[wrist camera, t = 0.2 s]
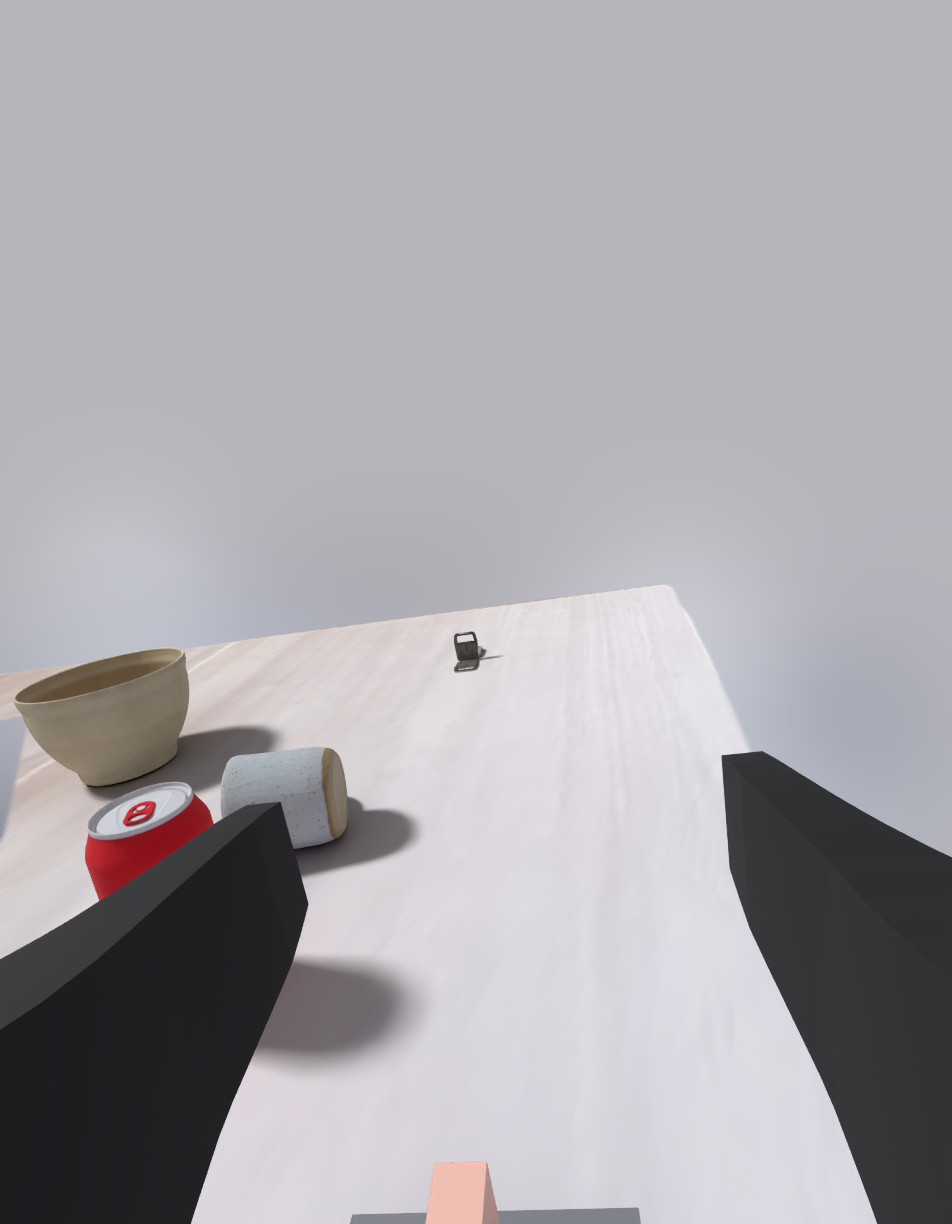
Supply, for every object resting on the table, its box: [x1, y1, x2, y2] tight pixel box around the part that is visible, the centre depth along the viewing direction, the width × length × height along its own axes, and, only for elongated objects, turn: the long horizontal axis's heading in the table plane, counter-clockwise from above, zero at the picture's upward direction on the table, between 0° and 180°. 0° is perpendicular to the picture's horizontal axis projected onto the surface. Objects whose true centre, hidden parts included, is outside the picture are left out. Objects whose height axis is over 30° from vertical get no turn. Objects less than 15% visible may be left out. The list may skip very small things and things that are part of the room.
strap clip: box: [454, 632, 483, 673], centre depth 89 cm, size 8×3×4 cm, turn 173°
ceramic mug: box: [221, 747, 348, 849], centre depth 54 cm, size 11×8×8 cm
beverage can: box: [85, 782, 214, 901], centre depth 37 cm, size 6×6×12 cm
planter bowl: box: [13, 647, 189, 786], centre depth 73 cm, size 16×16×11 cm
